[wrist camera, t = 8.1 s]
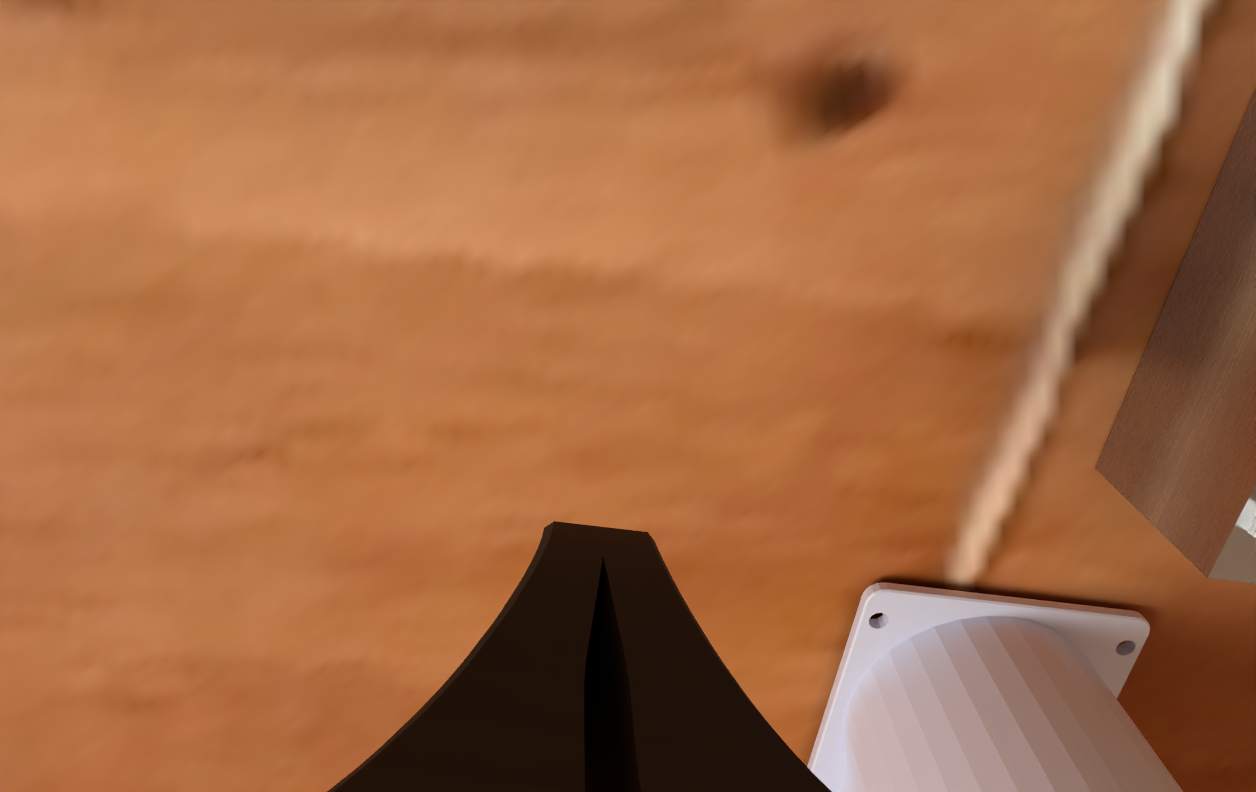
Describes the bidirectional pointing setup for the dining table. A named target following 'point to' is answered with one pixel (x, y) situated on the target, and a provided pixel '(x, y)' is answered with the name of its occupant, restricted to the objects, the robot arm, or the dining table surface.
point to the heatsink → (1201, 389)
